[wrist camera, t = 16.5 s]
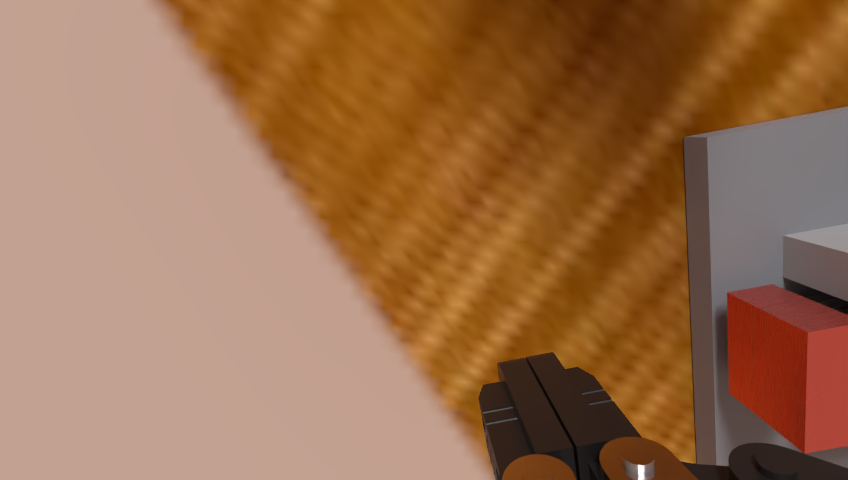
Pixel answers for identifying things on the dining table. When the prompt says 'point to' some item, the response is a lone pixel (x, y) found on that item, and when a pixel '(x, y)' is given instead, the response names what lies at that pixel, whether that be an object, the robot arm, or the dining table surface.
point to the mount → (760, 249)
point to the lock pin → (791, 363)
